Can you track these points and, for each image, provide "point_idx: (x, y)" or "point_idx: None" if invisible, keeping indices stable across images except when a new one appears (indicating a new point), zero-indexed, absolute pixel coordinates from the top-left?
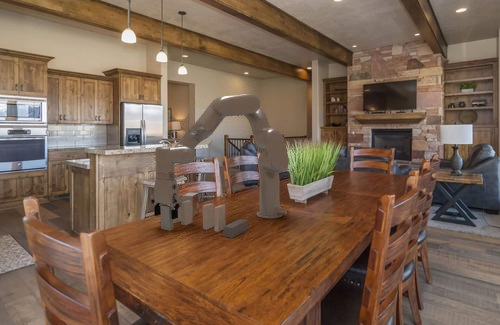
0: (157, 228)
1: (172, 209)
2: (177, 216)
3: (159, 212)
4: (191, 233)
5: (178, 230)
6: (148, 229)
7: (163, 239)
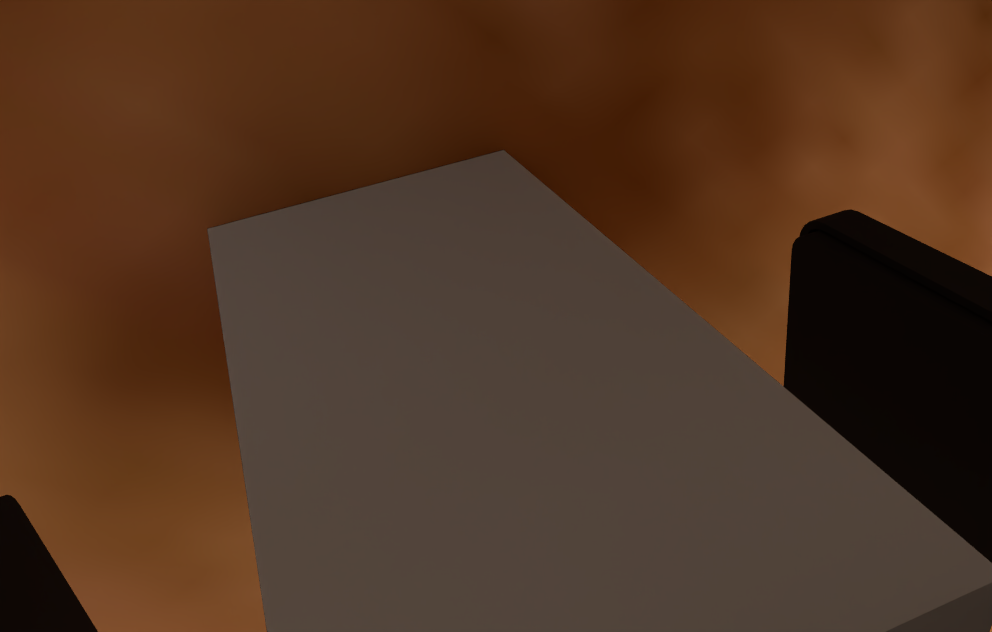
0: (142, 382)
1: (855, 464)
2: (871, 241)
3: (34, 628)
4: (973, 39)
5: (651, 109)
6: (69, 547)
7: None
